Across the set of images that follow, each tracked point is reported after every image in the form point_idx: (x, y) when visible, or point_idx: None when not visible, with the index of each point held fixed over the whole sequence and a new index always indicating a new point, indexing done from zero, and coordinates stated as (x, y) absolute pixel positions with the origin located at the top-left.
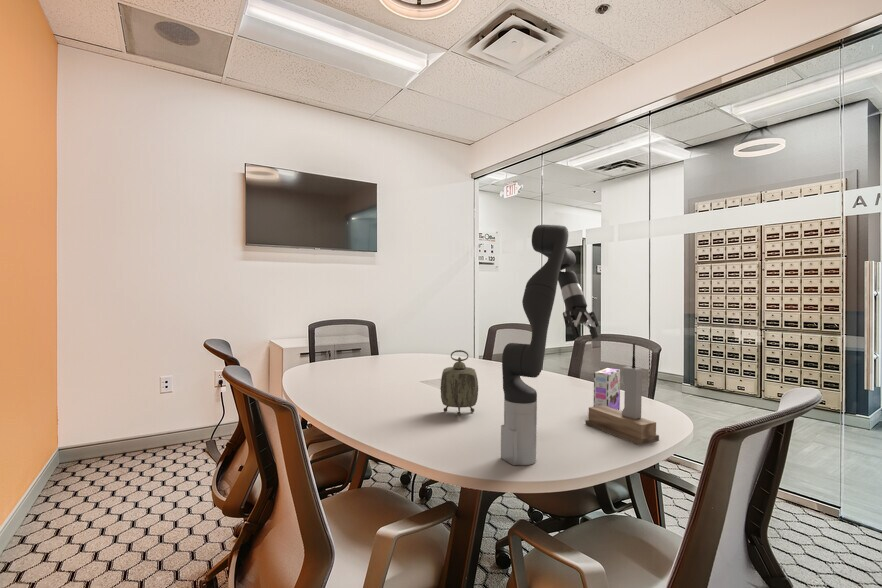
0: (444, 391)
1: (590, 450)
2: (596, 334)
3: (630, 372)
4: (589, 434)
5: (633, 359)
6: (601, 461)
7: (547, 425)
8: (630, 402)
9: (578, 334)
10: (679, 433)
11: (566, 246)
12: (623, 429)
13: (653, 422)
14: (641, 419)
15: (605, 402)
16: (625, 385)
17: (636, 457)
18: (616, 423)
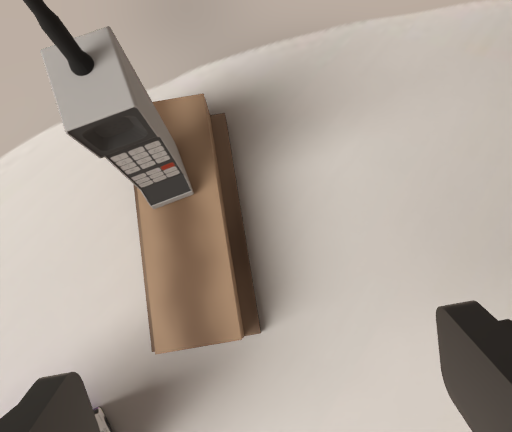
0: None
1: (393, 119)
2: (34, 398)
3: (127, 69)
4: (314, 234)
5: (60, 22)
6: (409, 52)
7: (413, 362)
8: (169, 140)
9: (488, 320)
10: (17, 164)
11: None
12: (218, 174)
13: None
14: None
15: None
16: (159, 131)
17: (299, 50)
18: (221, 200)
